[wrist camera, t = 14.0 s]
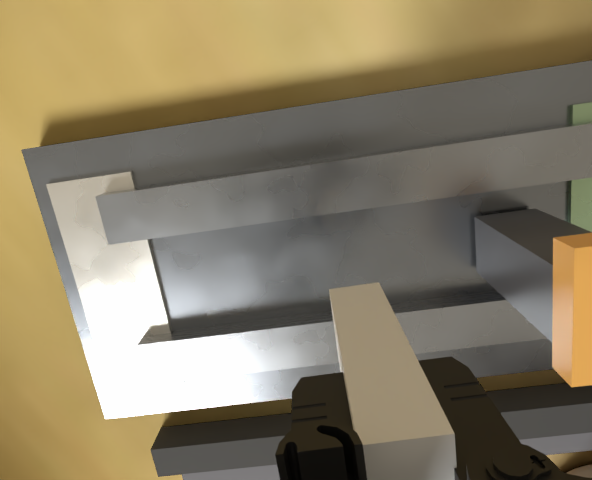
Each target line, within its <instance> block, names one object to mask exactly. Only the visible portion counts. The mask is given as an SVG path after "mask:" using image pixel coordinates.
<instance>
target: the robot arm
mask: <svg viewBox="0 0 592 480" xmlns="http://www.w3.org/2000/svg"><path fill="white" fill-rule="evenodd" d="M329 294H330V301H331V308H332V315H333V323H334V330H335V337H336V344H337V352H338V359H339V366H340V372H339V373H331V374H323V375H316V376H308V377H301V378H300V380H299V381H298V383H297V384H296V386H295V388H294V389H293V391H292V415H291V421H292V423H291V431H289V432H288V433H287V434H286V435H285V437H284V438H283V439H282V440H281V441H280V442H279V445H278V448H277V451H276V454H275V456H276V462H277V467H278V472H279V477H280V480H592V478H587V477H581V476H577V475H572V474H568V473H565V472H562V471H560V470H559V468H558V467H557V466H556V465H555V464H554V463H553V462H552V461H551V460H550V459H549V458H548V457H547V456H546V455H545V454H543V453H541V452H539V451H538V450H536V449H534V448H532V447H530V446H528V445H524V444H521V442H520V441H519V439H518V438H517V437H516V435H515V434H514V432H513V431H512V429H511V428H510V426H509V425H508V424H507V422H506V421H505V419H504V418H503V416H502V415H501V413H500V412H499V411H498V409H497V408H496V406H495V405H494V403H493V402H492V400H491V399H490V397H488V396H487V393H486V392H485V390H484V389H483V387H482V386H481V384H480V385H479V382H478V380H477V379H476V377H475V376H474V374H473V373H472V371H471V370H470V369H469V367H467V366H466V365H464V364H463V363H461V362H459V361H458V360H456V359H455V358H453V357H452V356H450V357H442V358H434V359H427V360H419V361H418V360H417V358H416V356H415V354H414V352H413V350H412V348H411V346H410V344H409V342H408V340H407V338H406V336H405V334H404V332H403V330H402V328H401V326H400V324H399V322H398V320H397V318H396V316H395V314H394V312H393V310H392V308H391V306H390V304H389V302H388V300H387V298H386V296H385V294H384V292H383V290H382V288H381V286H380V284H379V282H378V283H370V284H363V285H356V286H349V287H341V288H334V289H329Z"/></svg>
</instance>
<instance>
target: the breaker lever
mask: <svg viewBox="0 0 592 480" xmlns="http://www.w3.org/2000/svg"><path fill="white" fill-rule="evenodd" d="M474 219H475V243H476V267H477V273H478V274H479V275H481V276H482V277H483V278H484V279H485V280H486V281H487V282H488V283H489V284H490V285H491V286H492V287H493V288H494V289H495V290H496V291H498V292H499V293H500V294H501V295H502V296H503V297H504V298H505V299H506V300H507V301H508V302H509V303H510V304H511V305H512V306H513V307H515V308H516V309H517V310H518V311H519V312H520V313H521V314H522V315H523V316H524V317H525V318H526V319H527V320H528V321H529V322H530V323H532V324H533V325H534V326H535V327H536V328H537V329H538V330H539V331H540V332H541V333H542V334H543V335H544V336H545V337H546V338H547V339H549V340H550V341H551V342H552V368H553V369H554V370H555V371H556V372H557V373H558V374H559V375H560V376H561V377H562V378H563V379H564V380H565V381H566V382H567V383H568V384H569V385H570V386H571V387H579V386H588V385H592V232H590V231H588V230H586V229H583V228H581V227H578V226H576V225H574V224H571V223H569V222H566V221H564V220H562V219H559V218H557V217H554V216H552V215H550V214H547V213H545V212H542V211H540V210H538V209H535V208H534V209H527V210H520V211H512V212H505V213H498V214H490V215H483V216H476V217H474Z"/></svg>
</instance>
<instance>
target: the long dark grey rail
mask: <svg viewBox="0 0 592 480" xmlns="http://www.w3.org/2000/svg"><path fill="white" fill-rule="evenodd" d="M486 393H487V396H488V397H490V399H491V400H492V402H493V403H494V405H495V406H496V408H497V409H498V411H499V412H500V413H501V415H502V416H503V418H504V419H505V421H506V422H507V424H508V425H509V426H510V428H511V429H512V431H513V432H514V434H515V435H516V437H517V438H518V439H519V441H520V442H521V444H524V445H528V446H530V447H532V448H534V449H536V450H538V451H539V452H541V453H543V454H545V455H551V454H561V453H571V452H581V451H591V450H592V385H588V386H579V387H571V386H570V385H569V384H568V383H561V384H552V385H543V386H534V387H525V388H516V389H507V390H498V391H488V392H486ZM291 415H292V413H288V414H279V415H270V416H261V417H252V418H242V419H233V420H224V421H215V422H206V423H197V424H188V425H179V426H170V427H161V429H160V431H159V433H158V435H157V437H156V440H155V442H154V444H153V446H152V448H151V453H152V456H153V460H154V463H155V467H156V470H157V474H158V477H160V476H170V475H180V474H182V477H183V480H280V477H279V472H278V467H277V462H276V456H275V454H276V451H277V448H278V445H279V442H280V441H281V440H282V439H283V438H284V437H285V435H286V434H287V433H288V432H289V431H291V423H292V421H291Z"/></svg>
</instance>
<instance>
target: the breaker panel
mask: <svg viewBox="0 0 592 480" xmlns="http://www.w3.org/2000/svg"><path fill="white" fill-rule="evenodd" d="M22 153H23V156H24V160H25V163H26V166H27V169H28V172H29V176H30V179H31V182H32V185H33V189H34V192H35V195H36V198H37V201H38V205H39V208H40V211H41V214H42V217H43V221H44V224H45V227H46V230H47V233H48V237H49V240H50V243H51V246H52V249H53V253H54V256H55V259H56V262H57V266H58V269H59V272H60V275H61V278H62V282H63V285H64V288H65V291H66V294H67V298H68V301H69V304H70V307H71V310H72V314H73V317H74V320H75V323H76V327H77V330H78V333H79V336H80V339H81V343H82V346H83V349H84V352H85V355H86V359H87V362H88V365H89V368H90V371H91V375H92V378H93V381H94V384H95V387H96V391H97V394H98V397H99V400H100V404H101V407H102V410H103V413H104V416H105V419H112V418H121V417H130V416H139V415H148V414H157V413H166V412H175V411H184V410H193V409H201V408H210V407H219V406H228V405H237V404H246V403H255V402H264V401H273V400H282V399H291V398H292V391H293V389H294V388H295V386H296V384H297V383H298V381H299V380H300V378H301V377H308V376H316V375H323V374H331V373H339V372H340V366H339V359H338V352H337V344H336V337H335V330H334V323H333V315H332V308H331V301H330V294H329V289H334V288H341V287H349V286H356V285H363V284H370V283H378V282H379V284H380V286H381V288H382V290H383V292H384V294H385V296H386V298H387V300H388V302H389V304H390V306H391V308H392V310H393V312H394V314H395V316H396V318H397V320H398V322H399V324H400V326H401V328H402V330H403V332H404V334H405V336H406V338H407V340H408V342H409V344H410V346H411V348H412V350H413V352H414V354H415V356H416V358H417V360H418V361H419V360H427V359H434V358H442V357H450V356H452V357H453V358H455V359H456V360H458V361H459V362H461V363H463V364H464V365H466V366H467V367H469V369H470V370H471V371H472V373H473V374H474V376H475V377H476V378H478V377H487V376H496V375H505V374H514V373H523V372H532V371H541V370H550V369H553V368H552V342H551V341H550V340H549V339H547V338H546V337H545V336H544V335H543V334H542V333H541V332H540V331H539V330H538V329H537V328H536V327H535V326H534V325H533V324H532V323H530V322H529V321H528V320H527V319H526V318H525V317H524V316H523V315H522V314H521V313H520V312H519V311H518V310H517V309H516V308H515V307H513V306H512V305H511V304H510V303H509V302H508V301H507V300H506V299H505V298H504V297H503V296H502V295H501V294H500V293H499V292H498V291H496V290H495V289H494V288H493V287H492V286H491V285H490V284H489V283H488V282H487V281H486V280H485V279H484V278H483V277H482V276H481V275H479V274H478V273H477V267H476V243H475V219H474V217H476V216H483V215H490V214H498V213H505V212H512V211H520V210H527V209H534V208H535V209H538V210H540V211H542V212H545V213H547V214H550V215H552V216H554V217H557V218H559V219H562V220H564V221H566V222H569V223H571V224H574V225H576V226H578V227H581V228H583V229H586V230H588V231H590V232H592V60H591V61H585V62H579V63H572V64H566V65H559V66H553V67H547V68H540V69H534V70H528V71H521V72H515V73H508V74H502V75H496V76H489V77H483V78H476V79H470V80H464V81H457V82H451V83H444V84H438V85H432V86H425V87H419V88H413V89H406V90H400V91H393V92H387V93H381V94H374V95H368V96H361V97H355V98H349V99H342V100H336V101H329V102H323V103H317V104H310V105H304V106H298V107H291V108H285V109H278V110H272V111H266V112H259V113H253V114H246V115H240V116H234V117H227V118H221V119H214V120H208V121H202V122H195V123H189V124H183V125H176V126H170V127H163V128H157V129H151V130H144V131H138V132H131V133H125V134H119V135H112V136H106V137H99V138H93V139H87V140H80V141H74V142H68V143H61V144H55V145H48V146H42V147H36V148H29V149H23V150H22Z"/></svg>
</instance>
